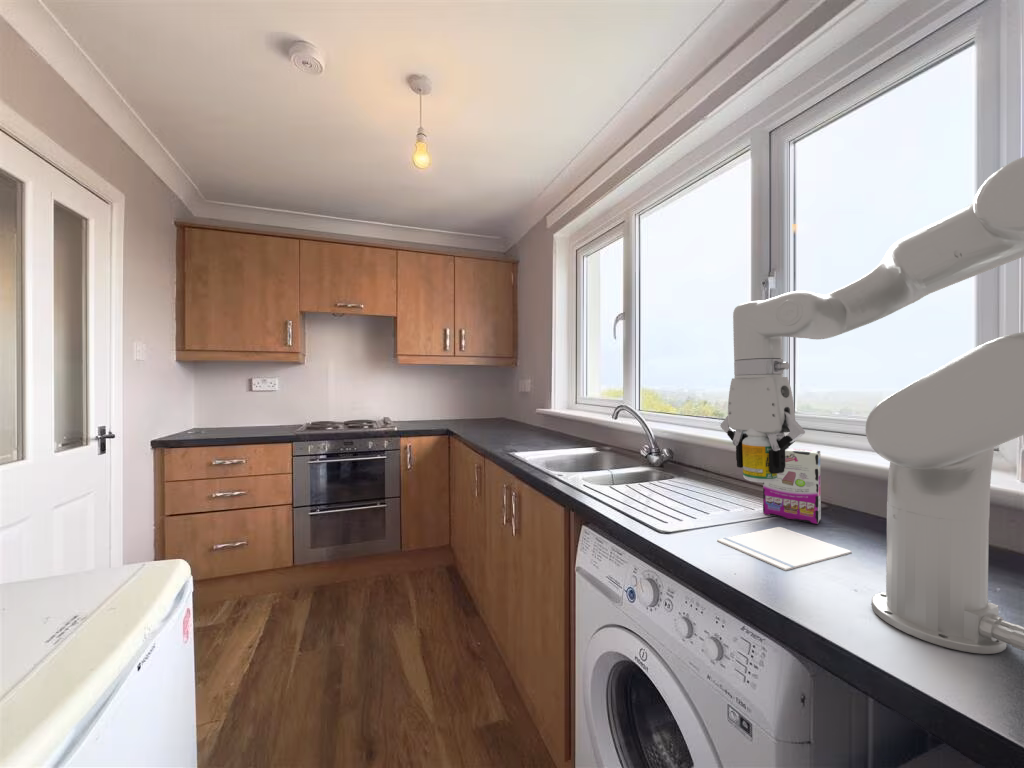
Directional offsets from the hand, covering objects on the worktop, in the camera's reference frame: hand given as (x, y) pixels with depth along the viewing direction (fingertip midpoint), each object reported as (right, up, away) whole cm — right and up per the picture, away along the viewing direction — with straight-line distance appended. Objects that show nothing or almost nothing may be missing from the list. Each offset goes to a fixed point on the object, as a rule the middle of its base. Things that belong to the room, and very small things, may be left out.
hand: (759, 468), depth 74 cm
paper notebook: (+9, -17, +7) cm, 20 cm away
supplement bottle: (0, -2, 0) cm, 2 cm away
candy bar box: (+22, -17, +24) cm, 37 cm away
